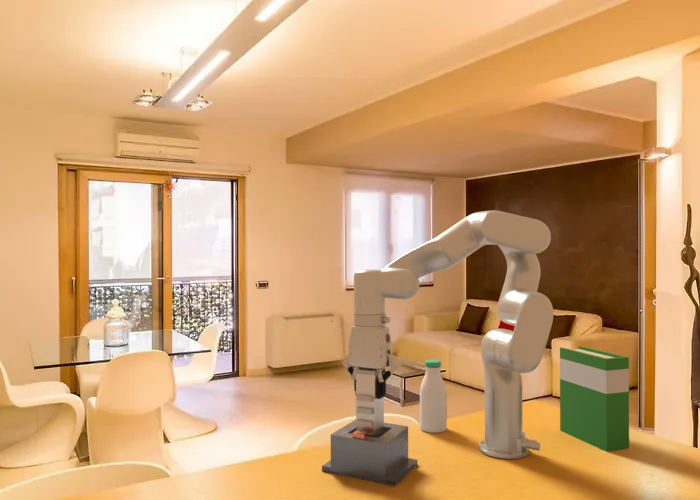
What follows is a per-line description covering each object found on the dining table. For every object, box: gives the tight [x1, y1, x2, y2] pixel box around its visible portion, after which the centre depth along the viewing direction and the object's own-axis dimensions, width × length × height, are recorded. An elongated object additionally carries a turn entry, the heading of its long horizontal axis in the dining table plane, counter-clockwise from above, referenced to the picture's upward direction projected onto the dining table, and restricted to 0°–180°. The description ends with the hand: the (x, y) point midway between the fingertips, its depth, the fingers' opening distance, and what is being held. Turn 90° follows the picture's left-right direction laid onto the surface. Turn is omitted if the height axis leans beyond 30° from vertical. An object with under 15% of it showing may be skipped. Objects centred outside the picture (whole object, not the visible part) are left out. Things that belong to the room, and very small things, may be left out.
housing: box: [321, 419, 418, 487], centre depth 133 cm, size 19×14×10 cm
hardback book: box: [559, 345, 630, 453], centre depth 153 cm, size 18×7×24 cm, turn 19°
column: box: [355, 368, 385, 438], centre depth 133 cm, size 5×6×22 cm
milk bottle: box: [419, 359, 448, 434], centre depth 162 cm, size 8×8×20 cm
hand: (370, 395), depth 133 cm, fingers closed on column, 5 cm apart
